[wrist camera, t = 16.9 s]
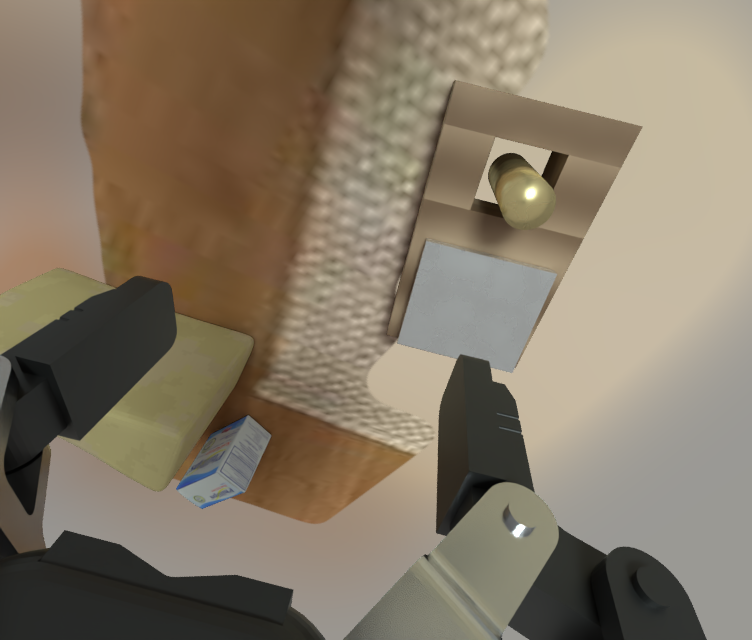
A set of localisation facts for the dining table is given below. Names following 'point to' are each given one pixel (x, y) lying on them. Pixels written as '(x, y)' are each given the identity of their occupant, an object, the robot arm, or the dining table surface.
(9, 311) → the cheese
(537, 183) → the brass peg
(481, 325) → the steel flap
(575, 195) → the walnut block
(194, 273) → the dining table surface
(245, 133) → the dining table surface
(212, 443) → the medicine box
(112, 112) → the dining table surface
